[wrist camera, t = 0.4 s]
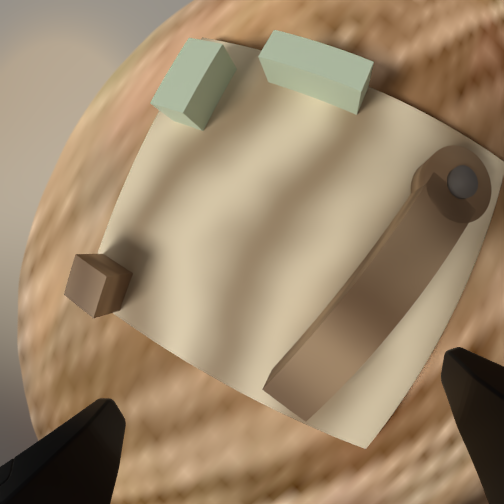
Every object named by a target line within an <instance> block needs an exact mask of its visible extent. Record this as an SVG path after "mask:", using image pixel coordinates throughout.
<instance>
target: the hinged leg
mask: <svg viewBox="0 0 504 504" xmlns="http://www.w3.org/2000/svg"><path fill="white" fill-rule="evenodd" d="M491 191H492V190H491V181H490V177H489V174H488V171H487V169H486V167H485V165H484V164H483V162H482V161H481V160H480V158H479V157H478V156H477V155H475V154H474V153H473V152H472V151H470V150H468V149H466V148H464V147H461V146H455V145H451V146H446V147H443V148H441V149H439V150H438V151H436V152H435V153H434V154H433V155H432V156H431V157H430V158H429V159H428V160H426V161H425V162H424V163H423V164H422V165H421V166H420V167H419V168H418V169H417V170H416V172H415V173H414V175H413V178H412V182H411V194H410V196H409V197H408V199H407V200H406V202H405V203H404V205H403V206H402V207H401V209H400V210H399V212H398V213H397V215H396V216H395V217H394V219H393V220H392V222H391V223H390V225H389V226H388V227H387V229H386V230H385V231H384V233H383V234H382V236H381V237H380V238H379V240H378V241H377V242H376V244H375V245H374V246H373V248H372V249H371V250H370V252H369V253H368V254H367V256H366V257H365V258H364V260H363V261H362V262H361V264H360V265H359V266H358V268H357V269H356V270H355V271H354V273H353V274H352V275H351V277H350V278H349V279H348V280H347V282H346V283H345V284H344V286H343V287H342V288H341V289H340V291H339V292H338V293H337V294H336V295H335V297H334V298H333V299H332V300H331V302H330V303H329V304H328V305H327V307H326V308H325V309H324V310H323V311H322V313H321V314H320V315H319V316H318V317H317V319H316V320H315V321H314V322H313V323H312V324H311V326H310V327H309V328H308V329H307V330H306V331H305V333H304V334H303V335H302V336H301V337H300V338H299V340H298V341H297V342H296V343H295V344H294V345H293V346H292V348H291V349H290V350H289V351H288V352H287V353H286V354H285V355H284V357H283V358H282V359H281V360H280V361H279V362H278V363H277V364H276V365H275V366H274V368H273V369H272V370H271V372H270V374H269V376H268V379H267V381H266V383H265V385H264V387H263V389H262V390H264V391H265V392H266V393H267V394H269V395H270V396H271V397H273V398H274V399H275V400H277V401H278V402H279V403H281V404H282V405H283V406H285V407H286V408H287V409H289V410H290V411H292V412H293V413H294V414H296V415H297V416H298V417H300V418H301V419H303V420H304V421H305V422H306V421H307V420H309V419H310V418H311V417H312V416H313V415H314V414H315V413H316V412H317V411H318V410H319V409H320V408H321V407H322V406H323V405H324V404H325V403H326V402H327V401H328V400H329V399H330V398H331V397H332V396H333V395H334V394H335V393H336V392H337V391H338V390H339V389H340V388H341V387H342V386H343V385H344V384H345V383H346V382H347V381H348V380H349V379H350V378H351V377H352V376H353V375H354V374H355V373H356V372H357V370H358V369H359V368H360V367H361V366H362V365H363V364H364V363H365V362H366V361H367V360H368V358H369V357H370V356H371V355H372V354H373V353H374V352H375V350H376V349H377V348H378V347H379V346H380V345H381V344H382V342H383V341H384V340H385V339H386V338H387V336H388V335H389V334H390V333H391V332H392V330H393V329H394V328H395V327H396V326H397V324H398V323H399V322H400V321H401V319H402V318H403V317H404V316H405V314H406V313H407V312H408V311H409V309H410V308H411V307H412V305H413V304H414V303H415V301H416V300H417V299H418V298H419V296H420V295H421V293H422V292H423V291H424V289H425V288H426V287H427V285H428V284H429V283H430V281H431V280H432V278H433V277H434V276H435V274H436V273H437V271H438V270H439V268H440V267H441V265H442V264H443V263H444V261H445V260H446V258H447V257H448V255H449V254H450V252H451V251H452V249H453V247H454V246H455V244H456V243H457V241H458V240H459V238H460V236H461V235H462V233H463V232H464V230H465V228H466V227H467V225H468V223H470V222H473V221H475V220H477V219H479V218H480V217H481V216H482V215H483V214H484V213H485V211H486V210H487V208H488V206H489V203H490V199H491Z"/></svg>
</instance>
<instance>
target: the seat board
mask: <svg viewBox="0 0 504 504" xmlns="http://www.w3.org/2000/svg"><path fill="white" fill-rule="evenodd" d="M201 40H205V41H210V42H215V43H220V44H223V45H224V47H225V49H226V51H227V52H228V54H229V56H230V58H231V59H232V61H233V63H234V65H235V67H236V68H237V70H236V71H235V73H234V75H233V77H232V78H231V80H230V82H229V84H228V86H227V87H226V89H225V91H224V93H223V95H222V96H221V98H220V100H219V102H218V104H217V106H216V108H215V109H214V111H213V113H212V115H211V117H210V119H209V121H208V123H207V125H206V127H205V129H204V131H201V130H198V129H196V128H193V127H190V126H187V125H184V124H181V123H178V122H175V121H173V120H171V119H170V118H169V117H168V116H166V115H165V114H164V113H162V112H161V111H160V110H159V112H158V114H157V116H156V118H155V120H154V122H153V124H152V126H151V128H150V130H149V132H148V134H147V136H146V138H145V140H144V142H143V144H142V146H141V148H140V150H139V152H138V155H137V157H136V159H135V161H134V163H133V165H132V168H131V170H130V172H129V174H128V177H127V179H126V181H125V184H124V186H123V188H122V191H121V193H120V196H119V198H118V200H117V203H116V205H115V208H114V210H113V213H112V215H111V218H110V221H109V223H108V226H107V229H106V231H105V234H104V237H103V240H102V242H101V245H100V248H99V251H98V254H76V255H75V258H74V261H73V265H72V268H71V271H70V275H69V278H68V282H67V286H66V289H65V293H64V295H65V296H66V297H68V298H69V299H70V300H71V301H72V302H74V303H75V304H76V305H77V306H79V307H80V308H81V309H82V310H84V311H85V312H86V313H87V314H89V315H90V316H91V317H92V318H96V317H100V316H103V315H107V314H110V313H114V314H115V315H116V316H118V317H119V318H121V319H122V320H123V321H125V322H126V323H128V324H129V325H131V326H132V327H134V328H135V329H136V330H138V331H139V332H141V333H142V334H144V335H145V336H147V337H148V338H150V339H151V340H153V341H154V342H156V343H158V344H159V345H161V346H162V347H164V348H165V349H167V350H169V351H170V352H172V353H173V354H175V355H176V356H178V357H180V358H181V359H183V360H185V361H186V362H188V363H190V364H191V365H193V366H195V367H196V368H198V369H200V370H201V371H203V372H205V373H207V374H208V375H210V376H212V377H214V378H215V379H217V380H219V381H221V382H222V383H224V384H226V385H228V386H230V387H232V388H233V389H235V390H237V391H239V392H241V393H243V394H245V395H246V396H248V397H250V398H252V399H254V400H256V401H258V402H260V403H262V404H264V405H266V406H268V407H270V408H272V409H274V410H276V411H278V412H280V413H282V414H284V415H287V416H289V417H291V418H293V419H295V420H297V421H299V422H302V423H304V424H306V425H308V426H311V427H313V428H315V429H317V430H320V431H322V432H324V433H327V434H329V435H332V436H334V437H336V438H339V439H341V440H344V441H346V442H349V443H351V444H354V445H356V446H359V447H362V448H364V449H366V448H367V447H368V446H369V444H370V443H371V442H372V441H373V439H374V438H375V437H376V435H377V434H378V433H379V431H380V430H381V429H382V428H383V426H384V425H385V423H386V422H387V421H388V419H389V418H390V417H391V415H392V414H393V412H394V411H395V410H396V408H397V407H398V405H399V404H400V402H401V401H402V399H403V398H404V396H405V395H406V393H407V392H408V390H409V389H410V387H411V386H412V384H413V383H414V381H415V380H416V378H417V376H418V375H419V373H420V371H421V370H422V368H423V367H424V365H425V363H426V361H427V360H428V358H429V356H430V355H431V353H432V351H433V349H434V348H435V346H436V344H437V342H438V340H439V339H440V337H441V335H442V333H443V331H444V329H445V327H446V325H447V323H448V321H449V319H450V317H451V315H452V313H453V311H454V309H455V307H456V305H457V303H458V301H459V299H460V297H461V295H462V292H463V290H464V288H465V286H466V283H467V281H468V279H469V276H470V274H471V272H472V269H473V267H474V264H475V262H476V259H477V257H478V254H479V252H480V249H481V246H482V244H483V241H484V238H485V235H486V233H487V230H488V227H489V224H490V221H491V218H492V215H493V211H494V208H495V205H496V202H497V198H498V195H499V191H500V187H501V184H502V180H503V176H504V161H502V160H501V159H499V158H498V157H497V156H495V155H494V154H492V153H491V152H489V151H488V150H486V149H485V148H483V147H482V146H480V145H479V144H477V143H475V142H474V141H472V140H471V139H469V138H467V137H466V136H464V135H463V134H461V133H459V132H458V131H456V130H454V129H452V128H451V127H449V126H447V125H446V124H444V123H442V122H440V121H438V120H437V119H435V118H433V117H431V116H429V115H427V114H425V113H424V112H422V111H420V110H418V109H416V108H414V107H412V106H410V105H408V104H406V103H404V102H402V101H400V100H397V99H395V98H393V97H391V96H389V95H387V94H384V93H382V92H380V91H378V90H375V89H373V88H371V87H368V89H367V92H366V94H365V97H364V99H363V101H362V104H361V106H360V108H359V111H358V113H357V115H356V114H353V113H351V112H349V111H346V110H344V109H341V108H339V107H336V106H334V105H331V104H329V103H326V102H324V101H321V100H319V99H316V98H313V97H311V96H308V95H305V94H302V93H299V92H297V91H294V90H291V89H288V88H285V87H282V86H279V85H276V84H273V83H269V82H268V80H267V77H266V75H265V72H264V70H263V67H262V65H261V62H260V60H259V57H258V56H259V54H260V53H261V51H262V50H258V49H254V48H250V47H246V46H241V45H237V44H232V43H228V42H223V41H218V40H213V39H207V38H202V39H201ZM451 145H455V146H461V147H464V148H466V149H468V150H470V151H472V152H473V153H474V154H475V155H477V156H478V157H479V158H480V160H481V161H482V162H483V164H484V165H485V167H486V169H487V171H488V174H489V177H490V181H491V190H492V191H491V199H490V203H489V206H488V208H487V210H486V211H485V213H484V214H483V215H482V216H481V217H480V218H479V219H477V220H475V221H473V222H470V223H468V225H467V227H466V228H465V230H464V232H463V233H462V235H461V236H460V238H459V240H458V241H457V243H456V244H455V246H454V247H453V249H452V251H451V252H450V254H449V255H448V257H447V258H446V260H445V261H444V263H443V264H442V265H441V267H440V268H439V270H438V271H437V273H436V274H435V276H434V277H433V278H432V280H431V281H430V283H429V284H428V285H427V287H426V288H425V289H424V291H423V292H422V293H421V295H420V296H419V298H418V299H417V300H416V301H415V303H414V304H413V305H412V307H411V308H410V309H409V311H408V312H407V313H406V314H405V316H404V317H403V318H402V319H401V321H400V322H399V323H398V324H397V326H396V327H395V328H394V329H393V330H392V332H391V333H390V334H389V335H388V336H387V338H386V339H385V340H384V341H383V342H382V344H381V345H380V346H379V347H378V348H377V349H376V350H375V352H374V353H373V354H372V355H371V356H370V357H369V358H368V360H367V361H366V362H365V363H364V364H363V365H362V366H361V367H360V368H359V369H358V370H357V372H356V373H355V374H354V375H353V376H352V377H351V378H350V379H349V380H348V381H347V382H346V383H345V384H344V385H343V386H342V387H341V388H340V389H339V390H338V391H337V392H336V393H335V394H334V395H333V396H332V397H331V398H330V399H329V400H328V401H327V402H326V403H325V404H324V405H323V406H322V407H321V408H320V409H319V410H318V411H317V412H316V413H315V414H314V415H313V416H312V417H311V418H310V419H309V420H307V421H306V422H305V421H304V420H303V419H301V418H300V417H298V416H297V415H296V414H294V413H293V412H292V411H290V410H289V409H287V408H286V407H285V406H283V405H282V404H281V403H279V402H278V401H277V400H275V399H274V398H273V397H271V396H270V395H269V394H267V393H266V392H265V391H264V390H262V389H263V387H264V385H265V383H266V381H267V379H268V376H269V374H270V372H271V370H272V369H273V368H274V366H275V365H276V364H277V363H278V362H279V361H280V360H281V359H282V358H283V357H284V355H285V354H286V353H287V352H288V351H289V350H290V349H291V348H292V346H293V345H294V344H295V343H296V342H297V341H298V340H299V338H300V337H301V336H302V335H303V334H304V333H305V331H306V330H307V329H308V328H309V327H310V326H311V324H312V323H313V322H314V321H315V320H316V319H317V317H318V316H319V315H320V314H321V313H322V311H323V310H324V309H325V308H326V307H327V305H328V304H329V303H330V302H331V300H332V299H333V298H334V297H335V295H336V294H337V293H338V292H339V291H340V289H341V288H342V287H343V286H344V284H345V283H346V282H347V280H348V279H349V278H350V277H351V275H352V274H353V273H354V271H355V270H356V269H357V268H358V266H359V265H360V264H361V262H362V261H363V260H364V258H365V257H366V256H367V254H368V253H369V252H370V250H371V249H372V248H373V246H374V245H375V244H376V242H377V241H378V240H379V238H380V237H381V236H382V234H383V233H384V231H385V230H386V229H387V227H388V226H389V225H390V223H391V222H392V220H393V219H394V217H395V216H396V215H397V213H398V212H399V210H400V209H401V207H402V206H403V205H404V203H405V202H406V200H407V199H408V197H409V196H410V194H411V182H412V178H413V175H414V173H415V172H416V170H417V169H418V168H419V167H420V166H421V165H422V164H423V163H424V162H425V161H426V160H428V159H429V158H430V157H431V156H432V155H433V154H434V153H435V152H436V151H438V150H439V149H441V148H443V147H446V146H451Z"/></svg>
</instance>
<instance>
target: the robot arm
mask: <svg viewBox="0 0 504 504" xmlns="http://www.w3.org/2000/svg"><path fill="white" fill-rule="evenodd" d="M441 381H442V384H443V387H444V390H445V392H446V395H447V398H448V401H449V404H450V407H451V410H452V413H453V416H454V419H455V422H456V424H457V427H458V430H459V432H460V434H461V436H462V439H463V441H464V443H465V445H466V448H467V450H468V452H469V454H470V457H471V459H472V461H473V464H474V466H475V469H476V471H477V473H478V476H479V478H480V481H481V483H482V486H483V489H484V491H485V494H486V496H487V499H488V502H489V504H504V367H503V366H501V365H499V364H497V363H495V362H492V361H490V360H488V359H486V358H483V357H481V356H479V355H477V354H475V353H472V352H470V351H468V350H466V349H464V348H461V347H456V348H453V349H450V350H448V351H446V352H445V355H444V360H443V366H442V372H441ZM125 426H126V422H125V418H124V416H123V415H122V413H121V412H120V410H119V408H118V407H117V405H116V403H115V402H114V401H113V400H112V399H110V398H100V399H97V400H96V401H95V402H93V403H92V404H90V405H89V406H88V407H86V408H85V409H83V410H82V411H81V412H79V413H78V414H76V415H75V416H74V417H72V418H71V419H69V420H68V421H67V422H65V423H64V424H62V425H61V426H59V427H58V428H57V429H55V430H54V431H52V432H51V433H49V434H48V435H47V436H45V437H44V438H42V439H41V440H39V441H38V442H36V443H35V444H34V445H32V446H31V447H29V448H28V449H26V450H25V451H23V452H22V453H20V454H19V455H17V456H16V457H15V458H14V459H11V460H10V461H9V462H7V463H5V464H4V465H2V466H1V467H0V504H110V502H111V498H112V494H113V490H114V486H115V482H116V478H117V474H118V470H119V464H120V458H121V452H122V445H123V439H124V432H125Z"/></svg>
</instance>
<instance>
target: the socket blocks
mask: <svg viewBox="0 0 504 504" xmlns="http://www.w3.org/2000/svg"><path fill="white" fill-rule="evenodd" d="M258 57H259V60H260V62H261V65H262V67H263V70H264V72H265V75H266V77H267V80H268V82H269V83H273V84H276V85H279V86H282V87H285V88H288V89H291V90H294V91H297V92H299V93H302V94H305V95H308V96H311V97H313V98H316V99H319V100H321V101H324V102H326V103H329V104H331V105H334V106H336V107H339V108H341V109H344V110H346V111H349V112H351V113H353V114H356V115H357V113H358V111H359V108H360V106H361V104H362V101H363V99H364V97H365V94H366V92H367V89H368V86H369V82H370V77H371V73H372V68H373V63H374V62H373V61H370V60H368V59H365V58H363V57H360V56H357V55H355V54H352V53H349V52H347V51H344V50H341V49H338V48H335V47H332V46H329V45H326V44H323V43H320V42H317V41H313V40H310V39H307V38H303V37H300V36H296V35H292V34H289V33H285V32H281V31H277V30H274V31H273V33H272V34H271V36H270V38H269V39H268V41H267V43H266V44H265V46H264V48H263V49H262V51H261V53H260V54H259V56H258ZM236 70H237V68H236V67H235V65H234V63H233V61H232V59H231V58H230V56H229V54H228V52H227V51H226V49H225V47H224V45H223V44H220V43H215V42H210V41H205V40H199V39H193V38H189V39H188V40H187V42H186V43H185V45H184V46H183V48H182V50H181V51H180V53H179V54H178V56H177V58H176V59H175V61H174V63H173V64H172V66H171V67H170V69H169V71H168V73H167V74H166V76H165V78H164V79H163V81H162V83H161V85H160V86H159V88H158V90H157V92H156V94H155V95H154V97H153V99H152V101H151V104H152V105H153V106H155V107H156V108H157V109H158V110H160V111H161V112H162V113H164V114H165V115H166V116H168V117H169V118H170V119H171V120H173V121H175V122H178V123H181V124H184V125H187V126H190V127H193V128H196V129H198V130H201V131H204V129H205V127H206V125H207V123H208V121H209V119H210V117H211V115H212V113H213V111H214V109H215V108H216V106H217V104H218V102H219V100H220V98H221V96H222V95H223V93H224V91H225V89H226V87H227V86H228V84H229V82H230V80H231V78H232V77H233V75H234V73H235V71H236Z"/></svg>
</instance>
